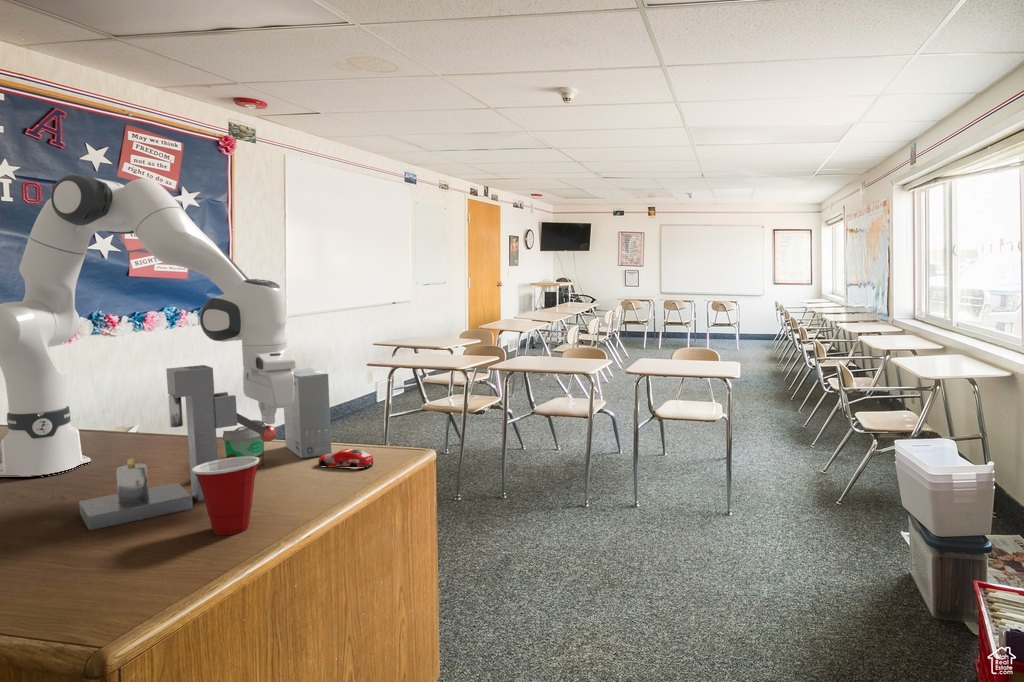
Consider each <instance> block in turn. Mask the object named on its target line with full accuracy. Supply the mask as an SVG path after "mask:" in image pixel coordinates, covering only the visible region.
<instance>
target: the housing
mask: <svg viewBox="0 0 1024 682" xmlns="http://www.w3.org/2000/svg"><path fill="white" fill-rule="evenodd" d="M135 461H136V460H135V458H128V459H127V464H125V465H122V466H118V467H116V482H117V483H116V485H117V494H118V500H119V502H121V503H132V502H138V501H142V500H145V499H147V498H148V497H149V492H148V488H149V481H148V469H147V468H148V466H147V464H145V463H136V462H135Z"/></svg>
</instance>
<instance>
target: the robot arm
mask: <svg viewBox="0 0 1024 682" xmlns="http://www.w3.org/2000/svg"><path fill="white" fill-rule="evenodd" d="M50 196H51V197H50V198H49V199H48V200H47V201H46V202H45V203H44V205H43V207H42V208H41V210H40V212H39V214H38V215H37V218H36V220H35V221H34V223H33V227H31V232H30V234H29V237H28V239H27V243H26V246H25V249H24V251H23V255H22V257H21V258H22V259H21V261H20V264H19V267H18V268H19V269H18V270H19V273H20V276H21V277H22V278H23V280H24V285H25V288H24V289H25V291H24V297H23V299H22V301H10V302H8V301H7V302H3V303H0V369H1V372H2V374H3V377H4V381H5V382H4V383H5V387H6V388H5V389H6V395H7V407H8V412H7V413H6V423H7V429H8V432H7V434H6V435H4V437H3V438H2V439H1V442H0V455H1V456H0V462H1V463H0V475H19V476H31V475H42V474H50V473H55V472H60V471H64V470H68V469H71V468H74V467H76V466H78V465H80V464H83V463H87V462H90V461H91V462H92V459H91V457H88V456H86V455H83V453H82V445H81V438H80V431H79V429H78V428H76V427H75V426H73V425H72V424H71V411H70V406H68V402H67V389H66V379H65V373H64V372H63V371H62V370H61V369H60V368H59V367H58V366H56V364H55V363H54V361H53V359H52V356H51V354H50V351H49V348H50V347H56V346H59V345H62V344H63V343H65V342H67V341H70V340H71V339H72V338H74V337H75V336H76V335H77V334H78V333H79V330H80V328H81V318H80V316H79V315H80V314H79V313H78V312H77V309H76V306H75V305H76V303H75V302H76V301H75V300H76V287H77V283H78V279H79V277H80V272H81V269H82V267H83V263H84V260H85V257H86V253H87V251H88V248H89V246H90V245H89V244H90V242H91V239H92V237H93V236H94V234H96V233H97V232H100V231H101V232H107V233H109V234H121V235H129V234H134V235H135V236H136V237H137V239H138V241H139V242H140V243H141V244H142V246H143V248H144V249H145V250H146V251H147V252H148V253H150V254H151V255H152V256H153V257H154V258H155V259H157V260H158V261H160V262H161V263H165V264H167V265H172V266H177V267H180V268H185V269H188V270H191V271H194V272H197V273H200V274H202V275H204V276H206V277H207V278H208V279H210V280H211V281H212V282H213V283H214V284H215V285H216V287H218V289H220V291H221V292H222V293H223V294H221V295H218V296H215V297H211V298H209V299H207V300H206V301H205V302H204V303H203V305H202V307H201V308H200V312H199V323H200V327H201V330H202V331H203V333H204V334H205V336H206V337H208V338H209V339H210V340H212V341H214V342H215V341H216V342H223V343H224V342H225V343H226V342H233V341H234V342H235V341H241V348H242V349H241V351H242V367H243V369H242V370H243V372H242V373H243V374H242V386H243V387H242V389H243V393H244V397H246V398H249V399H251V400H252V399H253V400H255V401H257V402H258V408H259V411H260V414H261V421H262V422H264V424H265V425H274V424H275V423H276V413H277V409H284V408H285V407H291V406H292V404H293V401H294V374H293V371H292V370H295V369H296V359H295V357H294V356H293V355H292V354H291V353H290V351H289V349H288V340H287V338H286V333H285V328H286V323H287V313H286V304H285V297H284V293H283V289H282V288H281V286H280V285H279V284H278V283H277V282H274V281H271V280H268V279H257V278H249V277H248V276H247V275H246V274H245V273H244V272H243V271H242V269H240V267H239V266H238V265H237V264H236V263H235V262H234V260H232V258H231V257H230V256H229V255H228V254H227V253H226V252H225V251H224V250H223V249H222V248H221V247H220V246H219V245H217V244H216V243H215V242H214V241H213V240H212V239H211V238H209V237H208V235H206V234H205V233H204V232H203V231H202V230H201V229H200V228H199V227H198V226H197V225H196V223H195V222H194V221H193V220H192V219H191V218H190V216H189V215H188V214H187V212H186V211H185V210H184V209H183V207H182V206H181V205H180V203H179V202H178V201H177V200H176V198H175V197H174V196H172V195H171V194H170V193H169V191H168V190H167V189H166V188H164V186H162V185H161V184H160V183H159V182H157V181H155V180H154V179H151V178H148V177H147V178H141V177H140V178H136V179H133V180H132V181H129V182H127V183H126V184H122V183H119V182H117V181H114V180H113V181H112V180H108V179H102V178H97V177H93V176H89V175H85V174H84V175H83V174H70V175H69V174H68V175H65V176H62V177H61V178H60V179H59V180H57V181H56V183H55V185H54V186H53V188H52V190H51V195H50Z"/></svg>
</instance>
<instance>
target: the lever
mask: <svg viewBox="0 0 1024 682" xmlns="http://www.w3.org/2000/svg"><path fill="white" fill-rule="evenodd" d="M237 424H239V425H240V426H241V425H242V427H247V428H249V429H251V430H253V431H255V432H257V433H259V436H260V438H261V439H262V440H263V441H264V443H265V442H267V443H269V442H272V441H273V440H274V439H276V437H277V430H276V429H275V427H274V426H272V425H270V424H266V426H264V427H263V426H261V425H259V424H257V423H255V422H253V421H252V420H251V419H249V418H248V417H246V416H243V415H242V414H239V413H238V412H237Z"/></svg>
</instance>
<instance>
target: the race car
mask: <svg viewBox="0 0 1024 682" xmlns="http://www.w3.org/2000/svg"><path fill="white" fill-rule="evenodd" d="M373 463H374V458H373V454H370V453H368V452H366V451H363V450H360V449H355V448H345V449H341V450H340V451H337V452H332V453H330V454H325V455H321V456H319V459H318V466H320V467H321V466H330V467H329V468H332V467H366V468H368V467H367V466H369V467H370V465H371V466H372V465H374V464H373ZM331 466H332V467H331Z"/></svg>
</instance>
